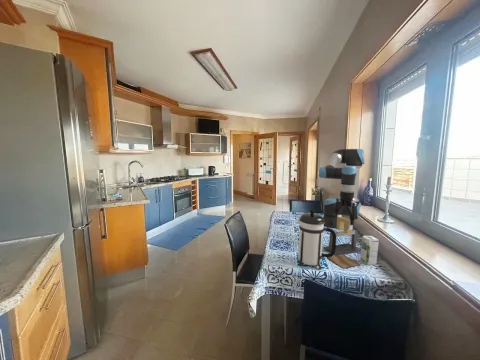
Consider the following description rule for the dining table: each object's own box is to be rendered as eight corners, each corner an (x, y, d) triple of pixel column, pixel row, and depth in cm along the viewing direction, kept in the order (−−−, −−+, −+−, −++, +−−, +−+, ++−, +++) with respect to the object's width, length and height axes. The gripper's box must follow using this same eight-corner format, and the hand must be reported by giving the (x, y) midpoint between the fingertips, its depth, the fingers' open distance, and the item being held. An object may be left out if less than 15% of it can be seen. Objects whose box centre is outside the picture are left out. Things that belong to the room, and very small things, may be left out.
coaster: (342, 255, 122) (342, 254, 122) (360, 265, 111) (360, 264, 111) (326, 258, 118) (326, 257, 118) (343, 268, 107) (343, 267, 107)
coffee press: (309, 274, 101) (313, 215, 98) (289, 259, 116) (292, 207, 112) (335, 267, 108) (339, 212, 105) (313, 253, 123) (316, 205, 119)
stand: (348, 244, 136) (349, 227, 135) (361, 251, 127) (363, 233, 125) (323, 248, 130) (325, 230, 128) (336, 256, 120) (337, 236, 119)
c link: (341, 228, 131) (342, 216, 130) (351, 232, 124) (352, 220, 123) (336, 228, 130) (337, 216, 129) (346, 233, 123) (347, 220, 122)
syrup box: (359, 259, 117) (361, 235, 115) (369, 259, 117) (371, 235, 115) (366, 265, 111) (369, 239, 109) (376, 264, 111) (379, 239, 110)
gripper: (329, 188, 132) (327, 222, 135) (357, 195, 113) (354, 234, 116) (338, 188, 135) (336, 221, 138) (367, 194, 115) (363, 232, 118)
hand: (344, 227), depth 127 cm, fingers closed on c link, 8 cm apart
